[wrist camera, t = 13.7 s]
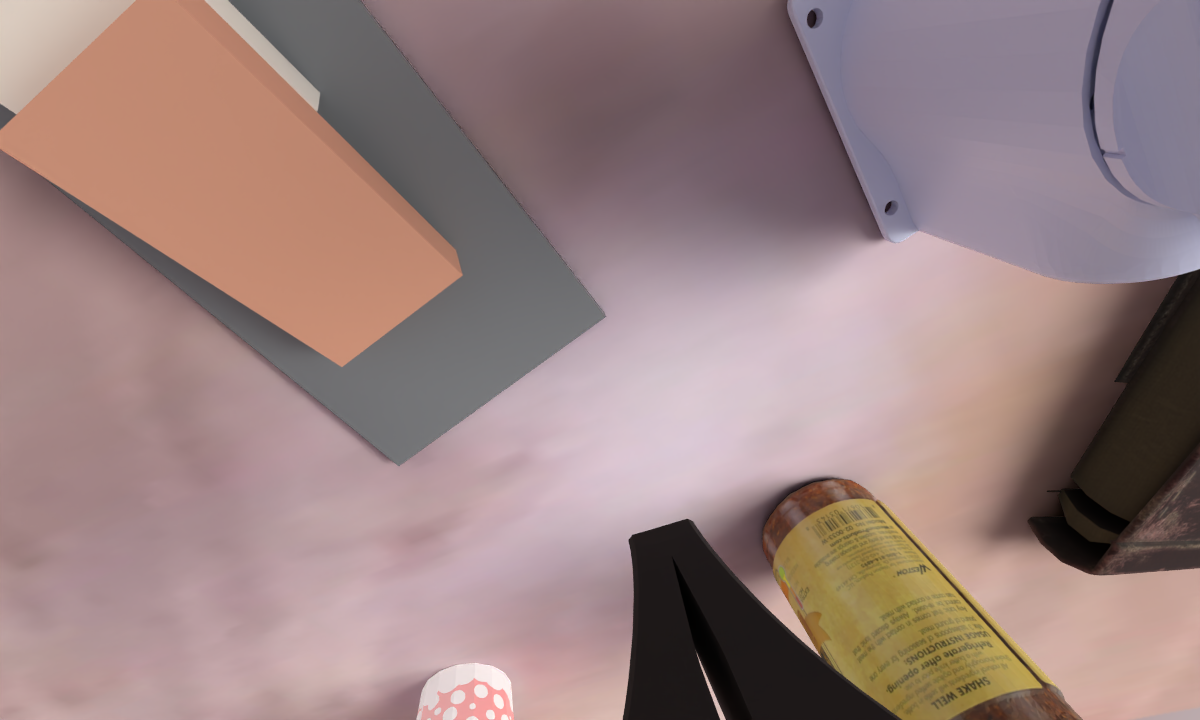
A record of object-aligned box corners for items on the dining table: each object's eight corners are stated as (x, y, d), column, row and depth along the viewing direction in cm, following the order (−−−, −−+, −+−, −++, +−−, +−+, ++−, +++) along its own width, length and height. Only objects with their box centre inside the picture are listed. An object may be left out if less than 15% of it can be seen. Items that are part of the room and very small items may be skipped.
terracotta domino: (342, 337, 19) (21, 117, 13) (455, 249, 18) (174, -29, 12) (341, 367, 18) (-13, 141, 11) (462, 275, 17) (155, -19, 11)
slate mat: (604, 312, 20) (605, 316, 20) (400, 460, 22) (398, 466, 21) (-788, -1472, 7) (-857, -1554, 6) (-1082, -757, 8) (-1153, -794, 8)
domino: (317, 110, 14) (-204, -398, 8) (185, 227, 15) (-386, -156, 9) (320, 92, 15) (-136, -366, 9) (197, 202, 16) (-303, -154, 10)
